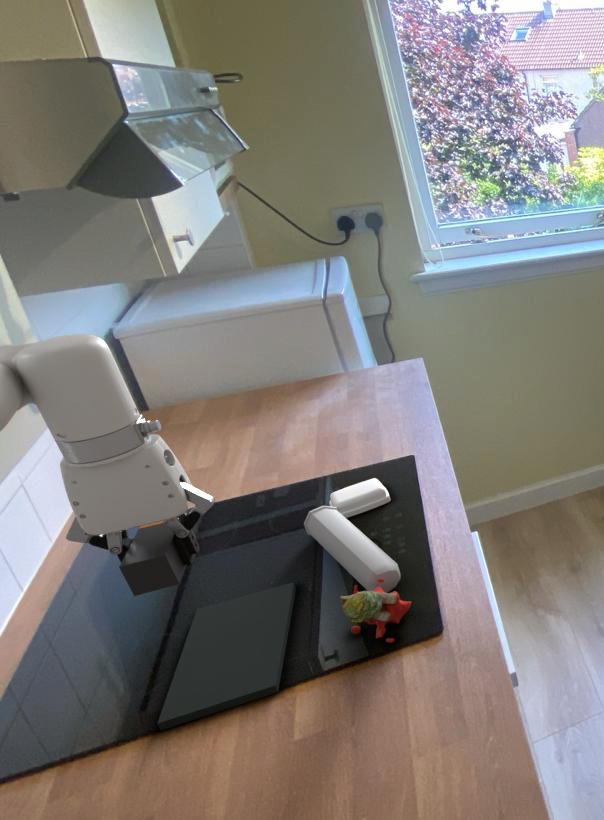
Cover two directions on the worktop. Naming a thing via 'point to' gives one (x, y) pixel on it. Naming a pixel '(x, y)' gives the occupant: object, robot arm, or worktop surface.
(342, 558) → the tube
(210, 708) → the mat
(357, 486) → the soap
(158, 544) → the battery
